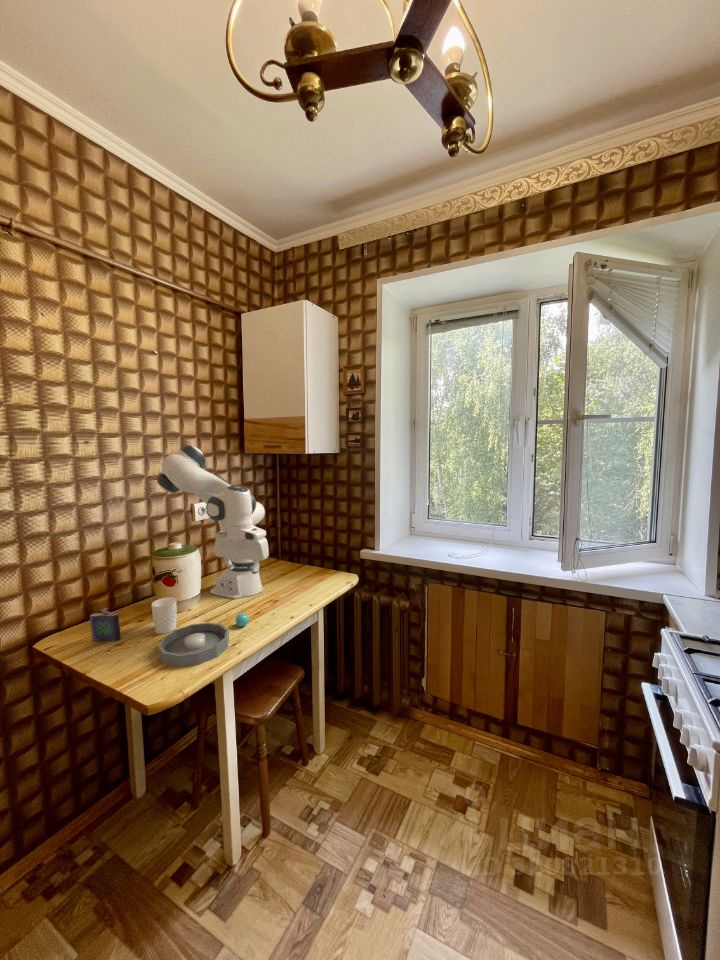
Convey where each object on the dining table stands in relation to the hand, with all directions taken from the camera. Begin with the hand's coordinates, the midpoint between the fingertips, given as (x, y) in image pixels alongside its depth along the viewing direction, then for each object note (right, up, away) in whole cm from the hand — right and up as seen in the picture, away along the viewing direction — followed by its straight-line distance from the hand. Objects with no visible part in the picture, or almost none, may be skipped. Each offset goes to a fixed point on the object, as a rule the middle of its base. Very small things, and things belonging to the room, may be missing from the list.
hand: (242, 570), depth 135 cm
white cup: (-27, -21, 0) cm, 34 cm away
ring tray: (-11, -22, -13) cm, 28 cm away
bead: (0, -18, +1) cm, 18 cm away
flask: (-43, -22, -7) cm, 49 cm away
